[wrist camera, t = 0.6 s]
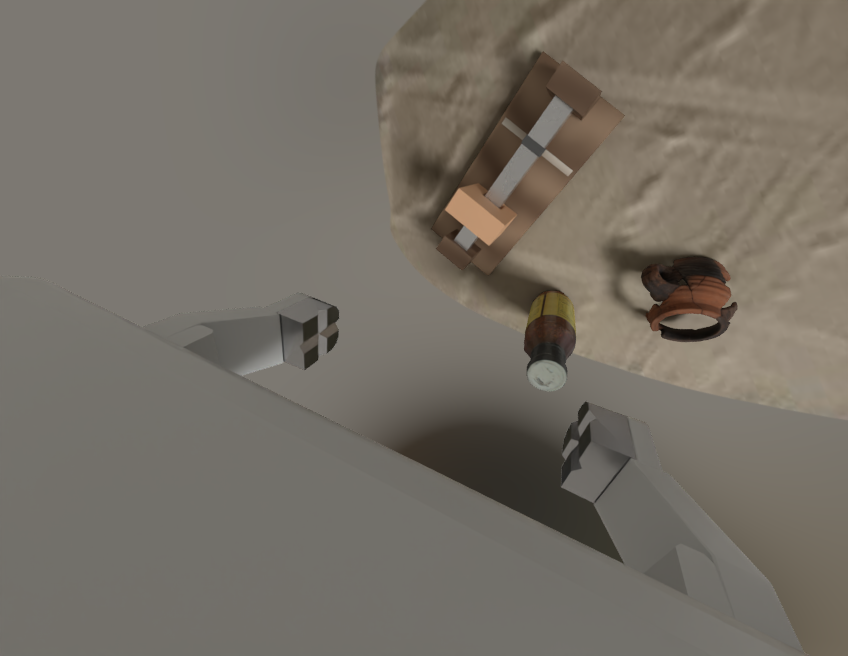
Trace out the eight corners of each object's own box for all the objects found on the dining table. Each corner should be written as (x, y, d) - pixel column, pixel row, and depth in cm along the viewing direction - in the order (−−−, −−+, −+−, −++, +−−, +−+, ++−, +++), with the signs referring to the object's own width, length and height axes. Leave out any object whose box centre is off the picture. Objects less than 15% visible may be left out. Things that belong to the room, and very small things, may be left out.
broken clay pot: (753, 273, 38) (762, 329, 35) (676, 306, 47) (677, 354, 43) (673, 228, 37) (675, 280, 33) (609, 270, 46) (604, 316, 42)
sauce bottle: (538, 328, 52) (520, 404, 36) (526, 294, 50) (502, 357, 34) (581, 319, 49) (582, 399, 33) (570, 282, 47) (566, 347, 31)
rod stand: (543, 53, 37) (537, 36, 32) (624, 116, 36) (631, 109, 31) (433, 227, 52) (416, 235, 46) (489, 274, 51) (479, 287, 46)
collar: (478, 183, 44) (458, 188, 37) (517, 214, 44) (505, 225, 37) (466, 201, 46) (444, 209, 39) (503, 232, 46) (488, 245, 38)
